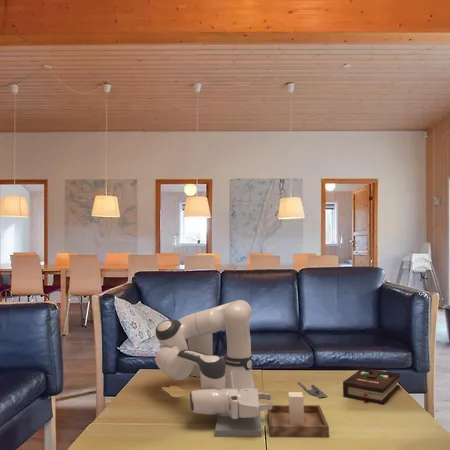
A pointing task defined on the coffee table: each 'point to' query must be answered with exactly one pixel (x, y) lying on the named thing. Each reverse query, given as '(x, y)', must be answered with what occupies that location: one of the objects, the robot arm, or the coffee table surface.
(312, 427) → the box
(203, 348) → the cylinder vase
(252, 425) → the board
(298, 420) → the tall cream pillar block
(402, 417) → the coffee table surface
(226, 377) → the robot arm
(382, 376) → the decorative book
